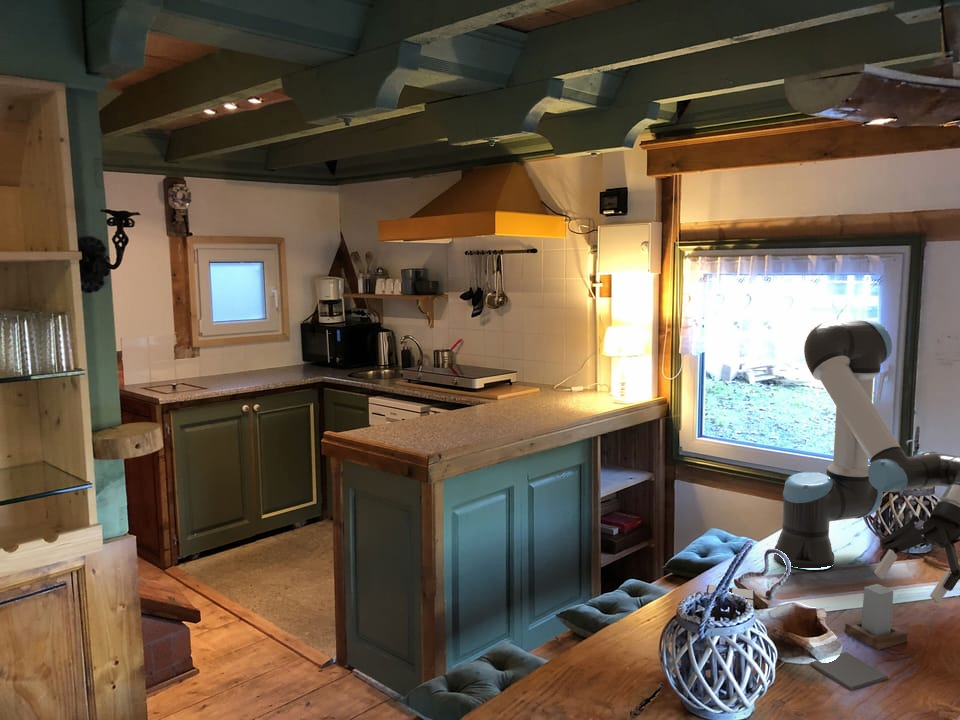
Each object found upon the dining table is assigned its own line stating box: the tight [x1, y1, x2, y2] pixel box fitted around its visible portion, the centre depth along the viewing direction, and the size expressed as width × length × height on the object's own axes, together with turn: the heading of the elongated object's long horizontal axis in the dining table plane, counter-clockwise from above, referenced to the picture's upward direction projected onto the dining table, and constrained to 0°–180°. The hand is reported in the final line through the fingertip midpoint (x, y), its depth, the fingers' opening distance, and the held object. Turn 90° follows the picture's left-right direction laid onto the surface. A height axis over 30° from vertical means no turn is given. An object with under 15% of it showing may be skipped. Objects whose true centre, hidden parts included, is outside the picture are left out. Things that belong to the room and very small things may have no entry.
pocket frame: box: [844, 618, 909, 651], centre depth 169 cm, size 9×9×2 cm
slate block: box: [861, 583, 894, 636], centre depth 169 cm, size 4×4×11 cm
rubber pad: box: [809, 651, 889, 691], centre depth 156 cm, size 10×10×1 cm
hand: (905, 587), depth 169 cm, fingers open, 13 cm apart
